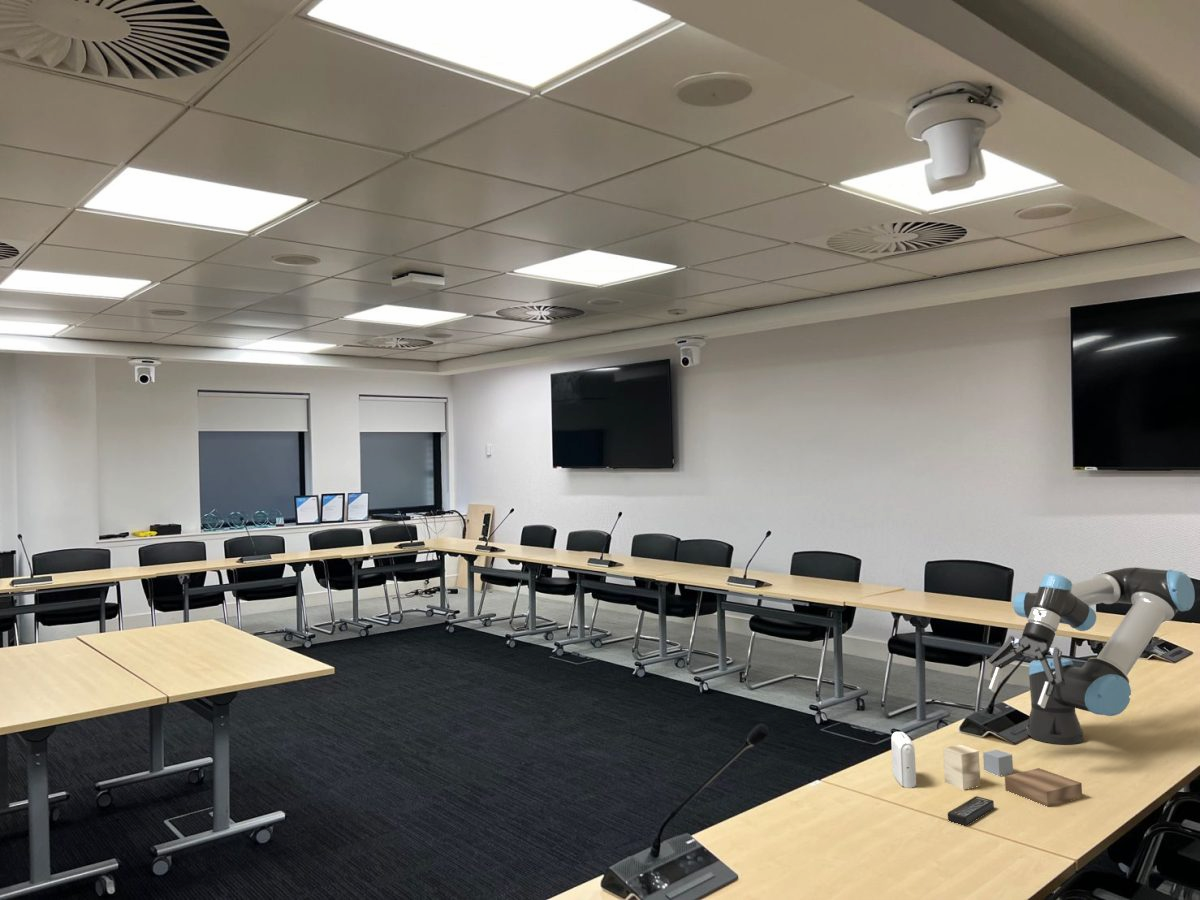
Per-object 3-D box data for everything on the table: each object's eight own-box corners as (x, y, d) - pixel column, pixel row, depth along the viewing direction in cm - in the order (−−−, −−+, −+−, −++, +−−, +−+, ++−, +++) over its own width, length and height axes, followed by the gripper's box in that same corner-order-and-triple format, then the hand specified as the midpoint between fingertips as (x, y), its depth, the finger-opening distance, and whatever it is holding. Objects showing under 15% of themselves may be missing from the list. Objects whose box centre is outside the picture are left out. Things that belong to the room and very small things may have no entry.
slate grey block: (997, 768, 224) (996, 749, 225) (1013, 773, 220) (1012, 754, 220) (984, 771, 223) (983, 752, 223) (999, 777, 218) (998, 757, 218)
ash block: (962, 779, 217) (960, 744, 218) (980, 786, 212) (978, 750, 212) (945, 783, 215) (943, 748, 215) (963, 790, 210) (961, 754, 210)
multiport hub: (947, 822, 192) (946, 812, 192) (976, 805, 201) (976, 795, 201) (965, 828, 188) (965, 818, 188) (994, 810, 198) (994, 800, 198)
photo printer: (918, 788, 212) (916, 739, 213) (901, 788, 213) (899, 739, 213) (907, 774, 222) (904, 727, 223) (891, 774, 223) (888, 727, 223)
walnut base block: (1039, 783, 213) (1038, 768, 213) (1082, 799, 202) (1081, 783, 202) (1005, 792, 208) (1004, 776, 209) (1047, 808, 197) (1046, 791, 198)
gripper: (992, 611, 238) (966, 679, 233) (1083, 633, 217) (1057, 708, 212) (1003, 621, 242) (978, 689, 237) (1093, 644, 221) (1068, 718, 216)
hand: (1015, 698), depth 224 cm, fingers open, 13 cm apart
